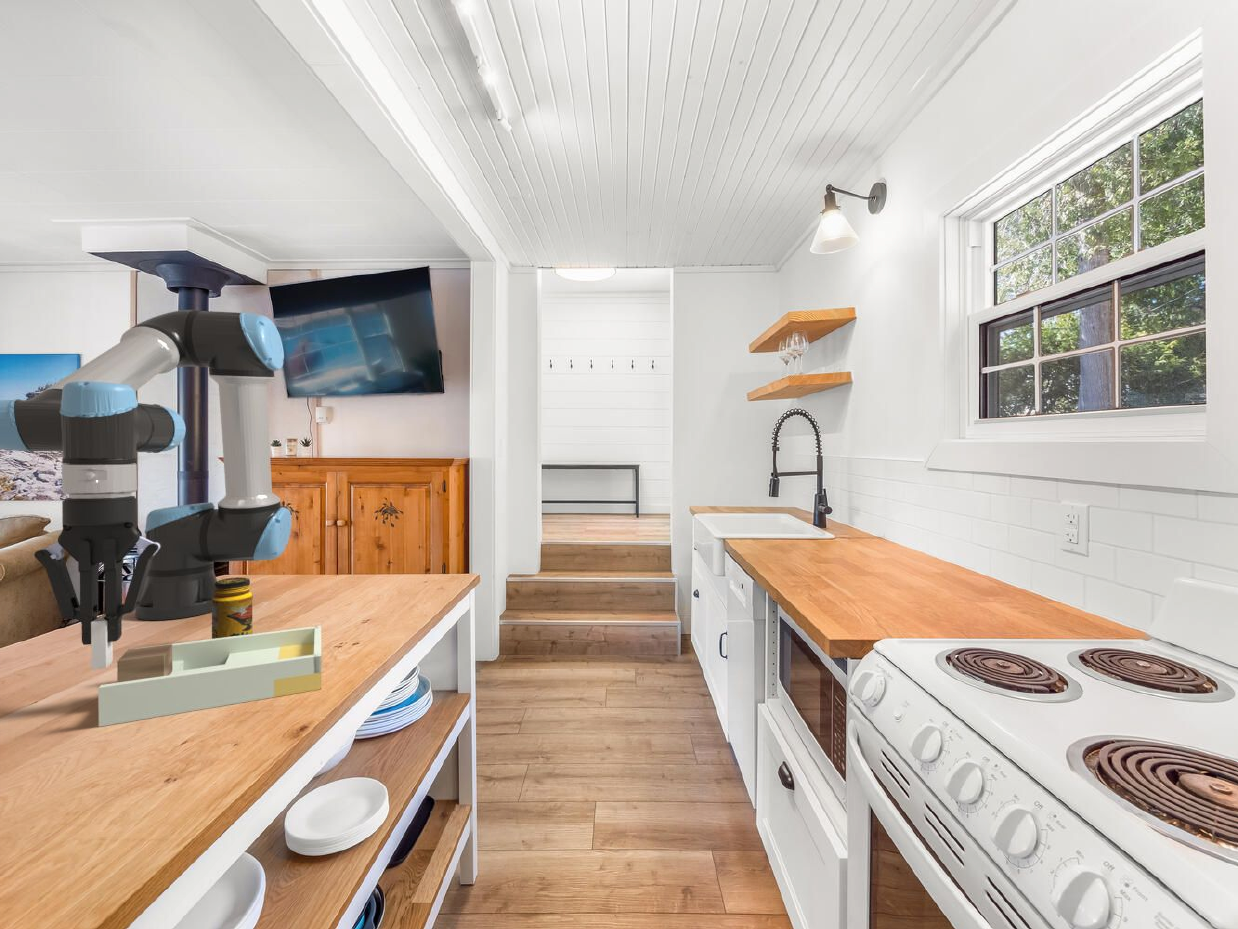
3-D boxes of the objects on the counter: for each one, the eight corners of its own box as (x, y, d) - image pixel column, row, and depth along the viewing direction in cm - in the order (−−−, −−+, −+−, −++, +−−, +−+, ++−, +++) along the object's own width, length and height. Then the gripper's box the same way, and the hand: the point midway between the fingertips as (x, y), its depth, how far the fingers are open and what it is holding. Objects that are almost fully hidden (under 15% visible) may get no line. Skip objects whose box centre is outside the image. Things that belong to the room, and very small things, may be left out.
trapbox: (135, 680, 85) (135, 648, 85) (321, 654, 97) (321, 625, 97) (98, 726, 71) (98, 688, 71) (321, 689, 83) (321, 655, 82)
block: (128, 677, 80) (128, 649, 80) (172, 670, 83) (172, 644, 82) (117, 690, 76) (117, 661, 76) (164, 683, 78) (163, 655, 78)
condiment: (254, 648, 99) (254, 581, 99) (195, 657, 95) (195, 587, 94) (254, 636, 105) (254, 574, 105) (198, 645, 101) (198, 579, 101)
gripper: (21, 499, 70) (24, 684, 70) (153, 496, 76) (154, 667, 77) (48, 494, 77) (50, 664, 77) (167, 492, 83) (168, 649, 83)
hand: (102, 665), depth 77 cm, fingers closed
